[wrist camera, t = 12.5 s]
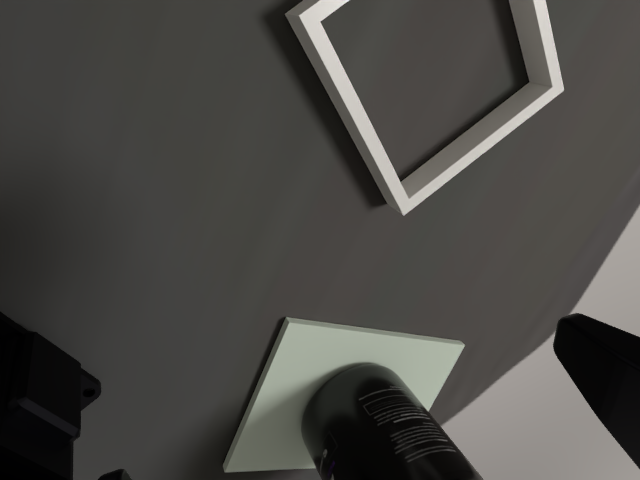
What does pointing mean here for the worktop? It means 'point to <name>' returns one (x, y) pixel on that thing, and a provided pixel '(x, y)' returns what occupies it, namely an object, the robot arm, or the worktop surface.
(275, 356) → the mat
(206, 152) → the worktop surface
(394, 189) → the white square frame
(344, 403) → the supplement bottle
